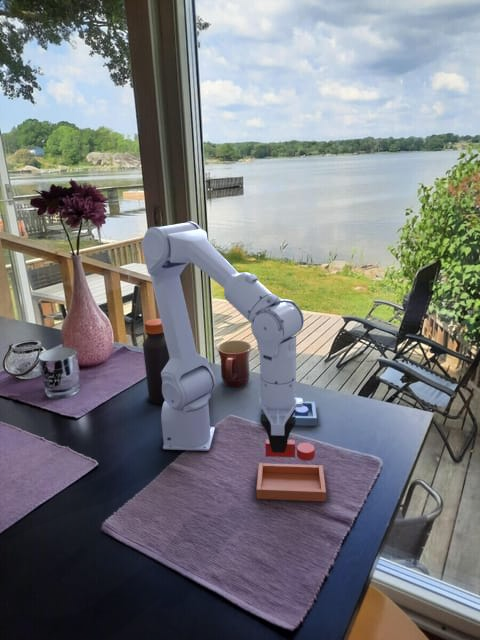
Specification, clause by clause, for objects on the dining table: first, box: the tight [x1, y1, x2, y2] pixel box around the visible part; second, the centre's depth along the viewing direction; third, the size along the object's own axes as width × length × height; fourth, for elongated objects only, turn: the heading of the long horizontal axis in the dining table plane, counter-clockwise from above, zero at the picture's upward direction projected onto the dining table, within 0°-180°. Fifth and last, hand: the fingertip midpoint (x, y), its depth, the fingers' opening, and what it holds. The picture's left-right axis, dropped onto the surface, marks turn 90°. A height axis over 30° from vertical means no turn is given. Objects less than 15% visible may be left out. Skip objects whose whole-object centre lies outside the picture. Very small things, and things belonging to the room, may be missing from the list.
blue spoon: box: [295, 406, 308, 416], centre depth 98 cm, size 8×3×3 cm, turn 85°
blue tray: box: [262, 401, 318, 427], centre depth 99 cm, size 12×7×2 cm, turn 85°
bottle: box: [142, 318, 170, 405], centre depth 106 cm, size 7×7×20 cm
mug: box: [216, 340, 252, 389], centre depth 112 cm, size 12×9×10 cm
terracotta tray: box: [255, 462, 327, 502], centre depth 77 cm, size 12×7×2 cm, turn 85°
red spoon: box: [264, 438, 316, 462], centre depth 75 cm, size 8×3×3 cm, turn 85°
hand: (278, 447), depth 75 cm, fingers closed on red spoon
